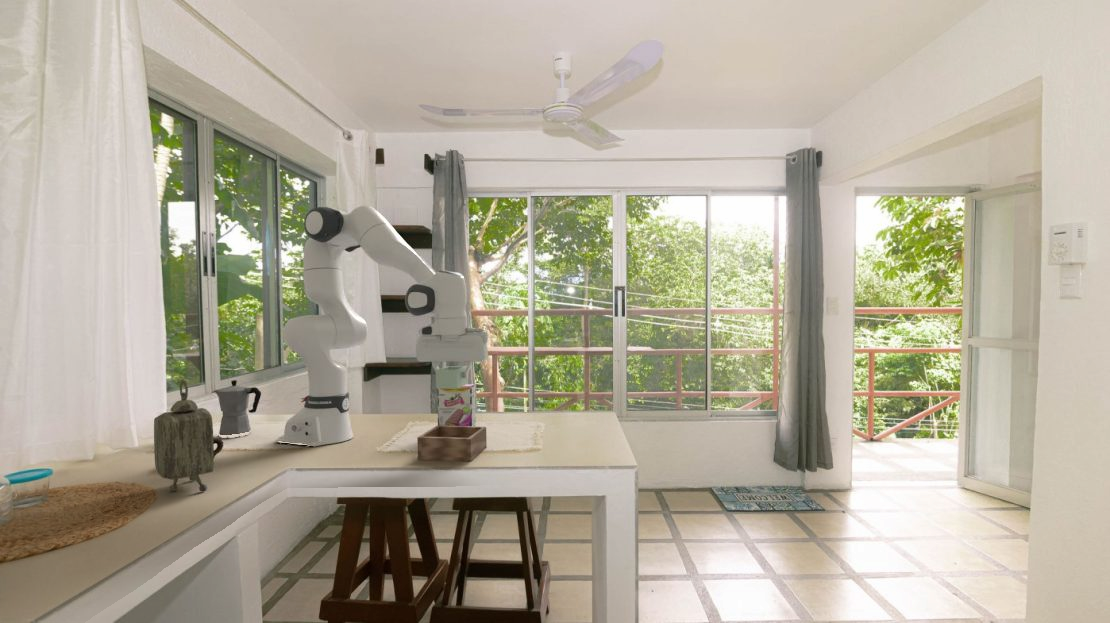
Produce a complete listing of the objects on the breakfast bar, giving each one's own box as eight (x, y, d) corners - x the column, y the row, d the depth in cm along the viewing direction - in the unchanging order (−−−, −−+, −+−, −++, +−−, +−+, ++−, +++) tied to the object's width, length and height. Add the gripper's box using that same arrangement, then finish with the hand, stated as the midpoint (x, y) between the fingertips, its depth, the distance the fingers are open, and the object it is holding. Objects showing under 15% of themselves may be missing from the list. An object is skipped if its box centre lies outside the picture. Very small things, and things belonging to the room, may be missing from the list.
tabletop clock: (214, 491, 120) (212, 381, 119) (165, 502, 113) (162, 386, 113) (200, 477, 130) (198, 375, 130) (154, 486, 124) (152, 379, 123)
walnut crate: (417, 459, 143) (417, 437, 143) (437, 445, 157) (437, 425, 157) (471, 461, 140) (470, 439, 140) (486, 447, 154) (486, 426, 154)
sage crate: (436, 388, 144) (435, 370, 144) (448, 383, 153) (447, 366, 153) (457, 388, 143) (456, 370, 143) (468, 383, 152) (467, 366, 152)
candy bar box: (437, 438, 165) (436, 386, 165) (442, 434, 170) (441, 383, 170) (472, 439, 164) (471, 386, 164) (476, 435, 169) (475, 383, 169)
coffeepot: (205, 439, 168) (204, 382, 168) (225, 431, 177) (223, 378, 177) (252, 439, 167) (251, 382, 167) (270, 431, 177) (268, 378, 176)
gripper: (490, 327, 149) (491, 376, 150) (422, 328, 153) (423, 376, 153) (483, 328, 143) (484, 379, 143) (412, 329, 147) (413, 379, 147)
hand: (452, 377), depth 148 cm, fingers closed on sage crate, 6 cm apart
